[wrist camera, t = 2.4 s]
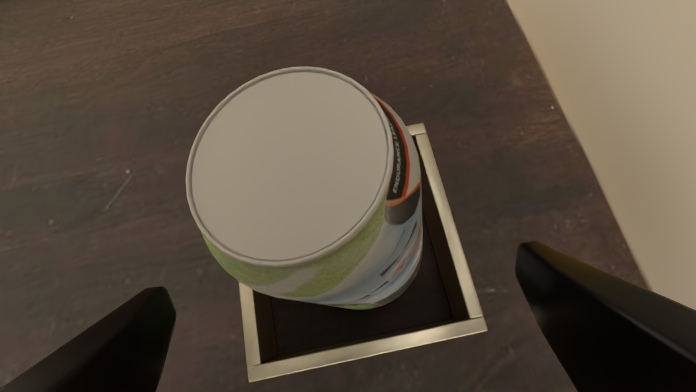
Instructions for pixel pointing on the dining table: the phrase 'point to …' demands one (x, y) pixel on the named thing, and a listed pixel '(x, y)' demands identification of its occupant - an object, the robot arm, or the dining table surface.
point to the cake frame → (464, 323)
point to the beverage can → (309, 190)
